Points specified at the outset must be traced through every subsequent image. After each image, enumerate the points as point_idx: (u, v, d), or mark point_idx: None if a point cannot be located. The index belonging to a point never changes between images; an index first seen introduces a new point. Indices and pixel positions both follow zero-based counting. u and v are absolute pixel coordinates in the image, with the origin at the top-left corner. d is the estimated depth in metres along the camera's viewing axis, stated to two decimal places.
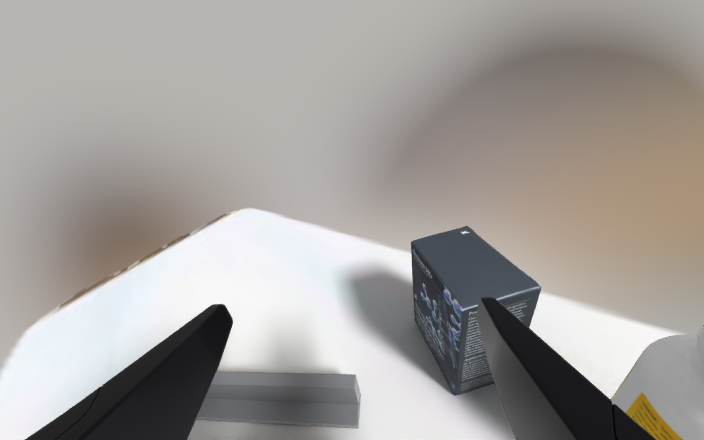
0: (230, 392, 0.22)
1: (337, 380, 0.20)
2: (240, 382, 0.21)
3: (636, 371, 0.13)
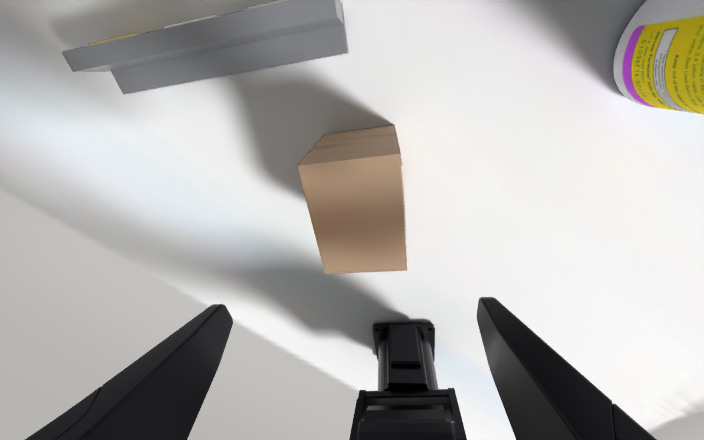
0: (163, 57, 0.16)
1: (307, 9, 0.13)
2: (166, 48, 0.14)
3: None
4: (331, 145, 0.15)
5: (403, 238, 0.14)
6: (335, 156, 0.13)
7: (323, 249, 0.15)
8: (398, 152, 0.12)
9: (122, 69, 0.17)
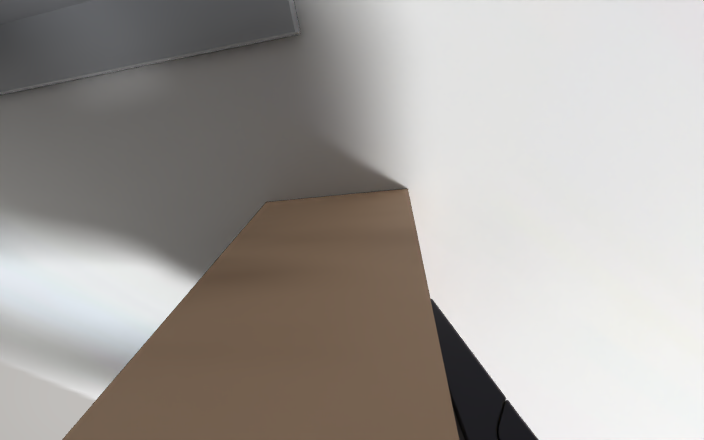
0: None
1: None
2: None
3: None
4: (251, 270, 0.06)
5: None
6: (217, 382, 0.04)
7: None
8: None
9: None
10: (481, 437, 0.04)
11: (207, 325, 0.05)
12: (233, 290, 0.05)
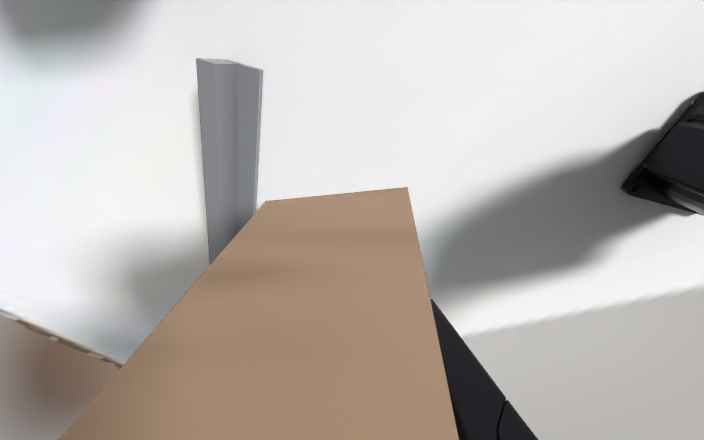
0: (229, 220, 0.20)
1: (206, 89, 0.14)
2: (217, 213, 0.19)
3: None
4: (250, 268, 0.06)
5: None
6: (216, 381, 0.04)
7: None
8: None
9: None
10: (481, 437, 0.04)
11: (206, 324, 0.05)
12: (232, 289, 0.05)
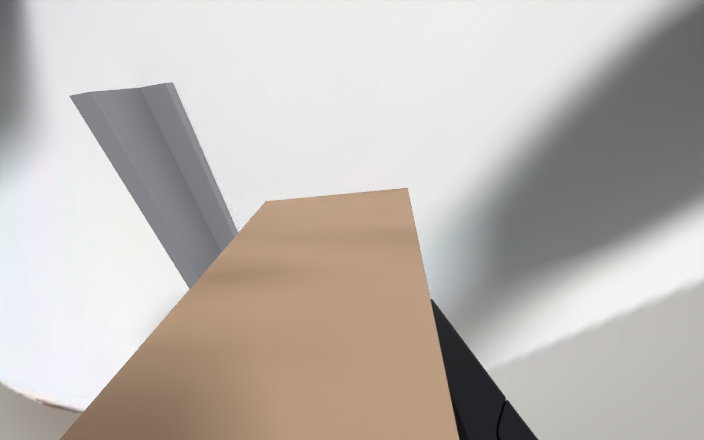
0: None
1: (100, 129, 0.11)
2: (192, 273, 0.15)
3: None
4: (250, 269, 0.06)
5: None
6: (215, 382, 0.04)
7: None
8: None
9: None
10: (481, 437, 0.04)
11: (206, 325, 0.05)
12: (232, 290, 0.05)
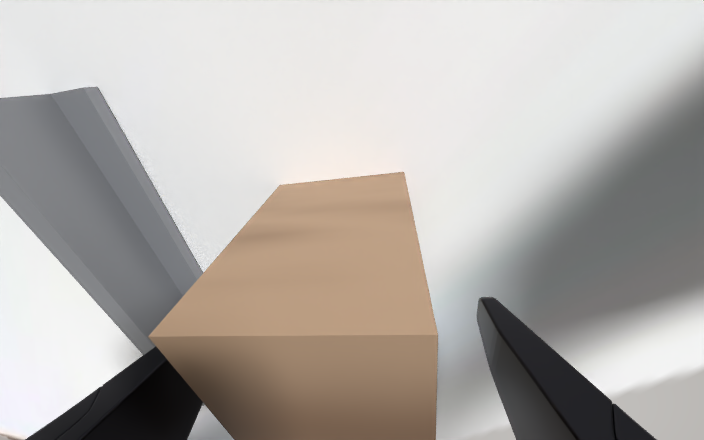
0: None
1: None
2: (139, 332, 0.12)
3: None
4: (274, 231, 0.07)
5: None
6: (259, 298, 0.05)
7: None
8: (429, 321, 0.04)
9: None
10: None
11: (245, 267, 0.06)
12: (261, 245, 0.07)
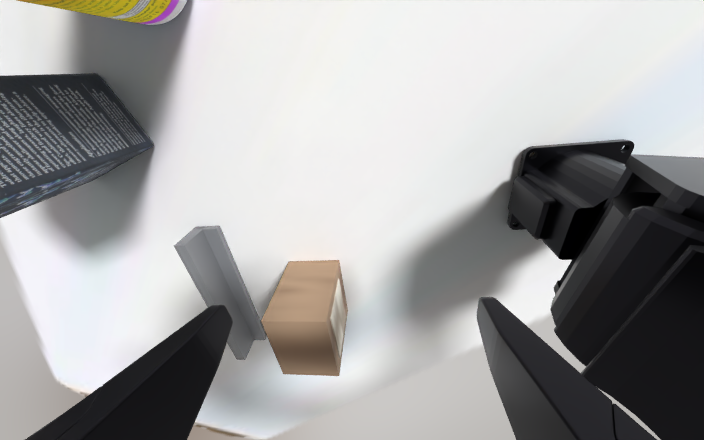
0: (235, 320, 0.28)
1: (186, 258, 0.22)
2: None
3: None
4: (289, 288, 0.22)
5: (334, 360, 0.21)
6: (287, 312, 0.20)
7: (281, 361, 0.22)
8: (325, 318, 0.19)
9: (252, 334, 0.31)
10: None
11: (281, 302, 0.21)
12: (285, 294, 0.22)
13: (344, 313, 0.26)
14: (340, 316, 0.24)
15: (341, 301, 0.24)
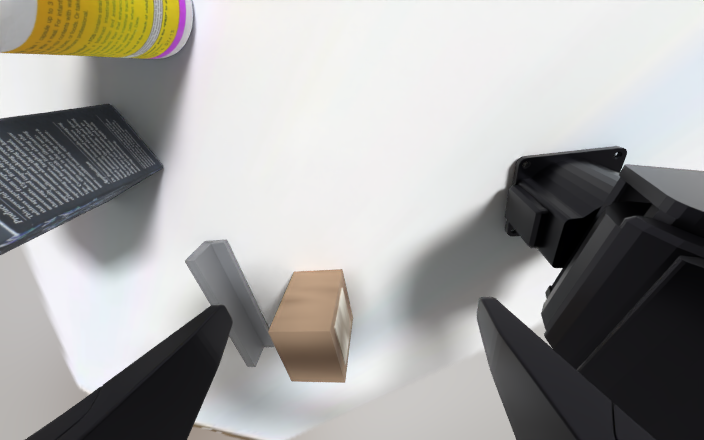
0: (245, 329, 0.29)
1: (196, 272, 0.23)
2: (233, 331, 0.27)
3: None
4: (294, 299, 0.23)
5: (339, 367, 0.22)
6: (292, 322, 0.21)
7: (288, 369, 0.23)
8: (329, 328, 0.20)
9: (261, 342, 0.32)
10: None
11: (287, 312, 0.22)
12: (291, 304, 0.22)
13: (349, 320, 0.26)
14: (345, 324, 0.24)
15: (345, 309, 0.25)
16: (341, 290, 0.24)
